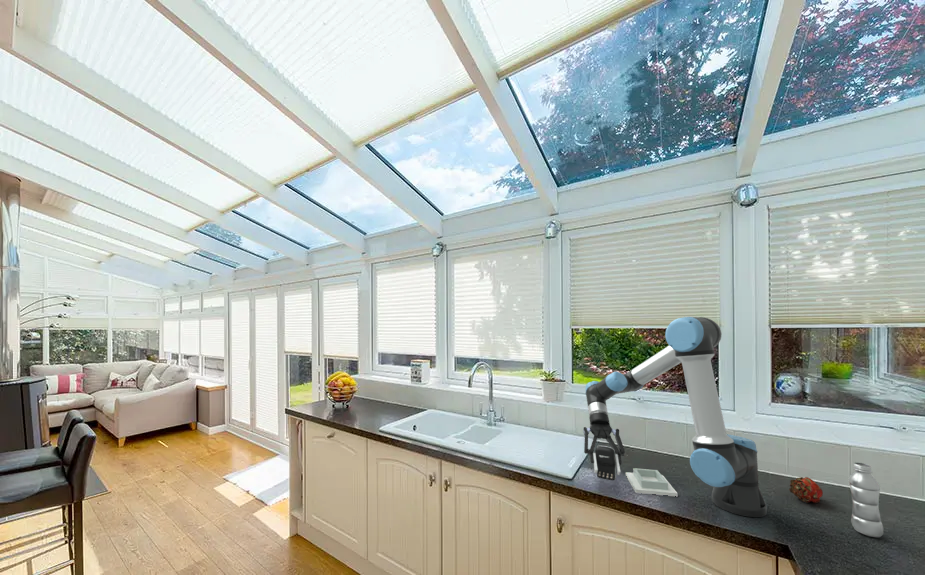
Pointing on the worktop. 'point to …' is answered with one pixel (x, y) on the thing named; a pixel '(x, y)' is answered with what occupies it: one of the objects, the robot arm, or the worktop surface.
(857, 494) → the plastic bottle
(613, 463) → the black battery charger
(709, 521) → the worktop surface
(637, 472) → the tray
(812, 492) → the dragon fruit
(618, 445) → the robot arm
